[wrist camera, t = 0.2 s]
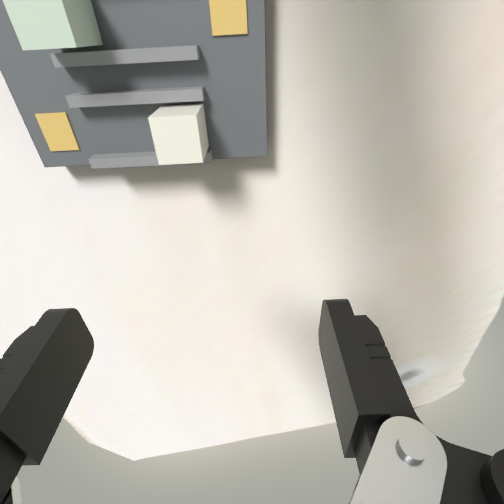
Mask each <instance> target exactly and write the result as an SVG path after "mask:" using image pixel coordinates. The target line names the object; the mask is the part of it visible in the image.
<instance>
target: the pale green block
mask: <svg viewBox="0 0 504 504" xmlns="http://www.w3.org/2000/svg"><path fill="white" fill-rule="evenodd" d="M3 3H4V5H5V8H6V10H7V13H8V15H9V18H10V20H11V23H12V25H13V27H14V30H15V32H16V35H17V37H18V40H19V42H20V45H21V47H22V50H41V49H59V48H76V47H86V46H96V45H103V43H102V39H101V35H100V32H99V28H98V25H97V21H96V17H95V14H94V10H93V6H92V3H91V0H3Z"/></svg>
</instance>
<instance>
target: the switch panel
mask: <svg viewBox="0 0 504 504" xmlns="http://www.w3.org/2000/svg"><path fill="white" fill-rule="evenodd" d="M91 3H92V6H93V10H94V14H95V17H96V21H97V25H98V28H99V32H100V35H101V39H102V43H103V45H96V46H86V47H76V48H59V49H41V50H22V47H21V45H20V42H19V40H18V37H17V35H16V32H15V30H14V27H13V25H12V23H11V20H10V18H9V15H8V13H7V10H6V8H5V5H4V3H3V0H0V70H1V73H2V75H3V77H4V79H5V81H6V84H7V86H8V88H9V90H10V92H11V94H12V97H13V99H14V101H15V103H16V105H17V108H18V110H19V112H20V114H21V116H22V118H23V121H24V123H25V125H26V127H27V129H28V132H29V134H30V136H31V138H32V140H33V143H34V145H35V147H36V149H37V151H38V153H39V156H40V158H41V160H42V162H43V164H44V167H59V166H80V165H91V168H92V169H99V168H119V167H140V166H160V165H159V164H158V159H157V155H156V151H155V146H154V142H153V138H152V133H151V129H150V125H149V120H148V117H149V116H150V115H151V114H153V113H154V112H155V111H156V110H157V109H158V108H159V107H161V106H162V105H180V104H199V103H203V104H204V112H205V120H206V127H207V135H208V143H209V147H208V150H207V153H206V155H205V158H204V161H203V163H211V162H212V159H223V158H243V157H264V156H267V120H266V62H265V3H264V0H91ZM188 164H201V163H188ZM167 165H181V164H167Z"/></svg>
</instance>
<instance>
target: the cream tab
mask: <svg viewBox="0 0 504 504" xmlns="http://www.w3.org/2000/svg"><path fill="white" fill-rule="evenodd" d="M148 120H149V125H150V129H151V133H152V138H153V142H154V146H155V151H156V155H157V159H158V164H159V165H167V164H188V163H203V161H204V158H205V155H206V153H207V150H208V147H209V143H208V135H207V127H206V120H205V112H204V104H203V103H199V104H180V105H162V106H161V107H159V108H158V109H157V110H156V111H155V112H154V113H153V114H151V115H150V116H149V117H148Z"/></svg>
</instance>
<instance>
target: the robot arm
mask: <svg viewBox="0 0 504 504" xmlns="http://www.w3.org/2000/svg"><path fill="white" fill-rule="evenodd" d="M319 346H320V351H321V356H322V360H323V365H324V369H325V373H326V378H327V382H328V387H329V391H330V396H331V400H332V405H333V409H334V414H335V418H336V422H337V427H338V431H339V436H340V440H341V445H342V449H343V454H344V457H345V458H356V461H357V465H358V469H359V473H360V475H359V478H358V480H357V483H356V486H355V488H354V491H353V493H352V496H351V498H350V501H349V503H348V504H504V449H503V450H500V451H499V452H497V453H495V454H494V456H489V455H486V454H483V453H480V452H477V451H473V450H470V449H467V448H464V447H460V446H457V445H454V444H451V443H449V442H447V441H445V440H443V439H441V438H439V437H438V436H436V435H435V434H434V433H433V432H432V431H431V430H430V429H428V428H427V427H426V426H425V425H424V424H423V423H422V422H421V421H420V419H419V418H418V416H417V415H416V413H415V411H414V409H413V407H412V404H411V402H410V400H409V398H408V395H407V393H406V391H405V388H404V386H403V384H402V382H401V379H400V377H399V375H398V372H397V370H396V368H395V365H394V363H393V361H392V360H391V358H390V354H389V352H388V349H387V347H385V343H384V340H383V338H382V336H381V333H380V331H379V329H378V327H377V326H376V325H375V324H374V323H373V322H372V321H371V320H370V319H369V318H368V317H367V316H366V315H358V316H354V313H353V310H352V308H351V305H350V303H349V301H348V300H347V299H335V300H323V303H322V310H321V317H320V325H319ZM93 350H94V341H93V338H92V335H91V334H90V332H89V330H88V328H87V326H86V324H85V322H84V321H83V319H82V317H81V315H80V313H79V312H78V310H77V309H75V308H67V309H49V310H47V311H46V312H45V313H44V314H43V315H42V317H41V318H40V319H39V321H38V322H37V324H36V325H35V326H31V327H30V328H28V329H27V330H26V331H25V332H24V333H22V334H21V335H20V336H19V337H18V338H16V339H15V340H14V341H13V343H12V344H11V345H10V347H9V348H8V349H7V351H6V352H5V353H4V355H3V358H2V359H0V504H22V501H21V493H20V485H19V481H18V479H17V477H16V476H17V474H18V472H19V470H20V468H21V466H22V465H40V463H41V461H42V459H43V457H44V455H45V453H46V451H47V448H48V446H49V444H50V442H51V440H52V438H53V436H54V434H55V432H56V430H57V428H58V426H59V423H60V421H61V419H62V417H63V415H64V413H65V411H66V409H67V407H68V405H69V403H70V401H71V399H72V396H73V394H74V392H75V390H76V388H77V386H78V384H79V382H80V380H81V378H82V376H83V374H84V371H85V369H86V367H87V365H88V363H89V361H90V359H91V357H92V354H93Z"/></svg>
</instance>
